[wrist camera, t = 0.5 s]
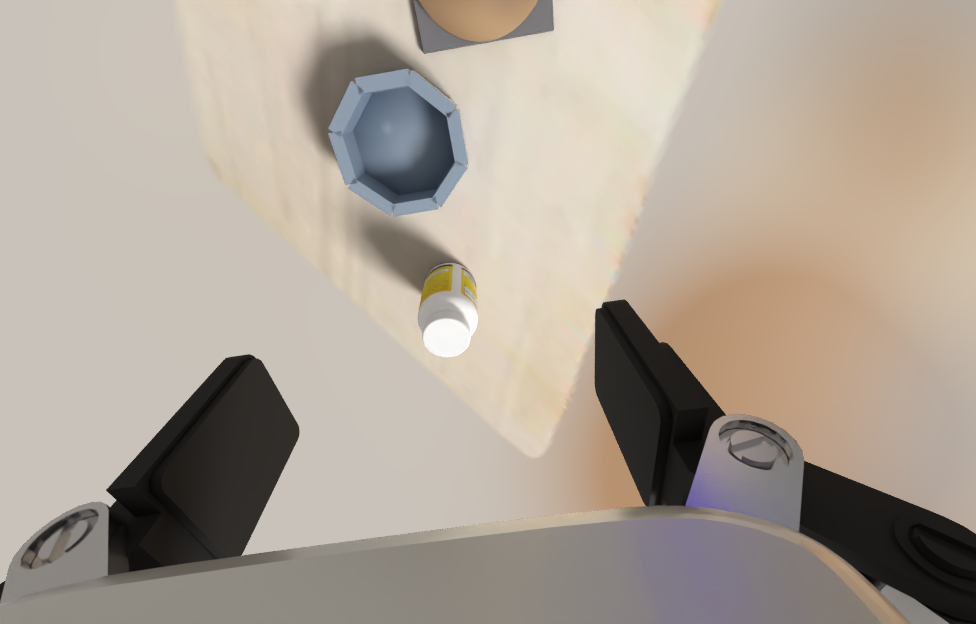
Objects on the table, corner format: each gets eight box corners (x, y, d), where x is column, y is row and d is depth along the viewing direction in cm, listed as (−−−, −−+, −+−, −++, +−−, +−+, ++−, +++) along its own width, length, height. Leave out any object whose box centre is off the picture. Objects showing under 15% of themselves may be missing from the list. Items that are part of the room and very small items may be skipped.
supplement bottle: (418, 298, 40) (405, 354, 31) (433, 254, 37) (424, 301, 29) (465, 313, 41) (466, 370, 33) (483, 271, 39) (488, 321, 30)
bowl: (329, 86, 30) (311, 85, 26) (452, 64, 30) (450, 60, 26) (368, 209, 35) (357, 222, 31) (473, 192, 35) (474, 202, 31)
